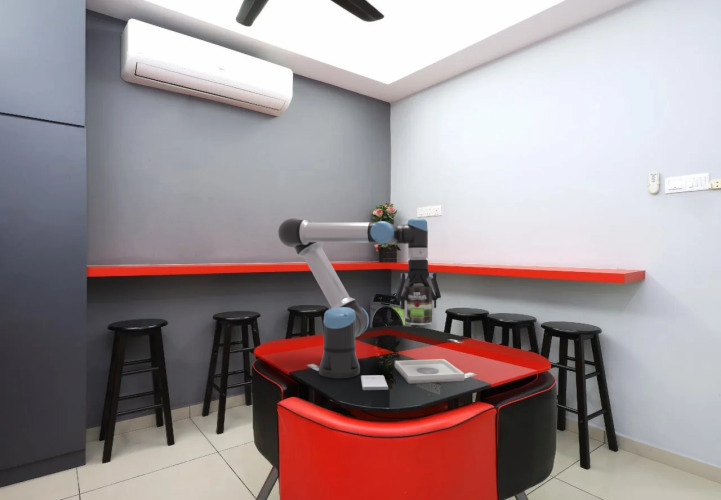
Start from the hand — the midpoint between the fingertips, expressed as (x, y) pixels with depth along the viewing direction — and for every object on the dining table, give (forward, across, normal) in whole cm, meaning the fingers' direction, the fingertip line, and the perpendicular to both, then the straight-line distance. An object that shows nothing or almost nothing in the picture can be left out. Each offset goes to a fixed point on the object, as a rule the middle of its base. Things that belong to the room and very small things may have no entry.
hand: (418, 317), depth 151 cm
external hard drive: (+21, -21, -13) cm, 32 cm away
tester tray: (+20, +1, -6) cm, 21 cm away
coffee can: (+2, 0, 0) cm, 2 cm away
